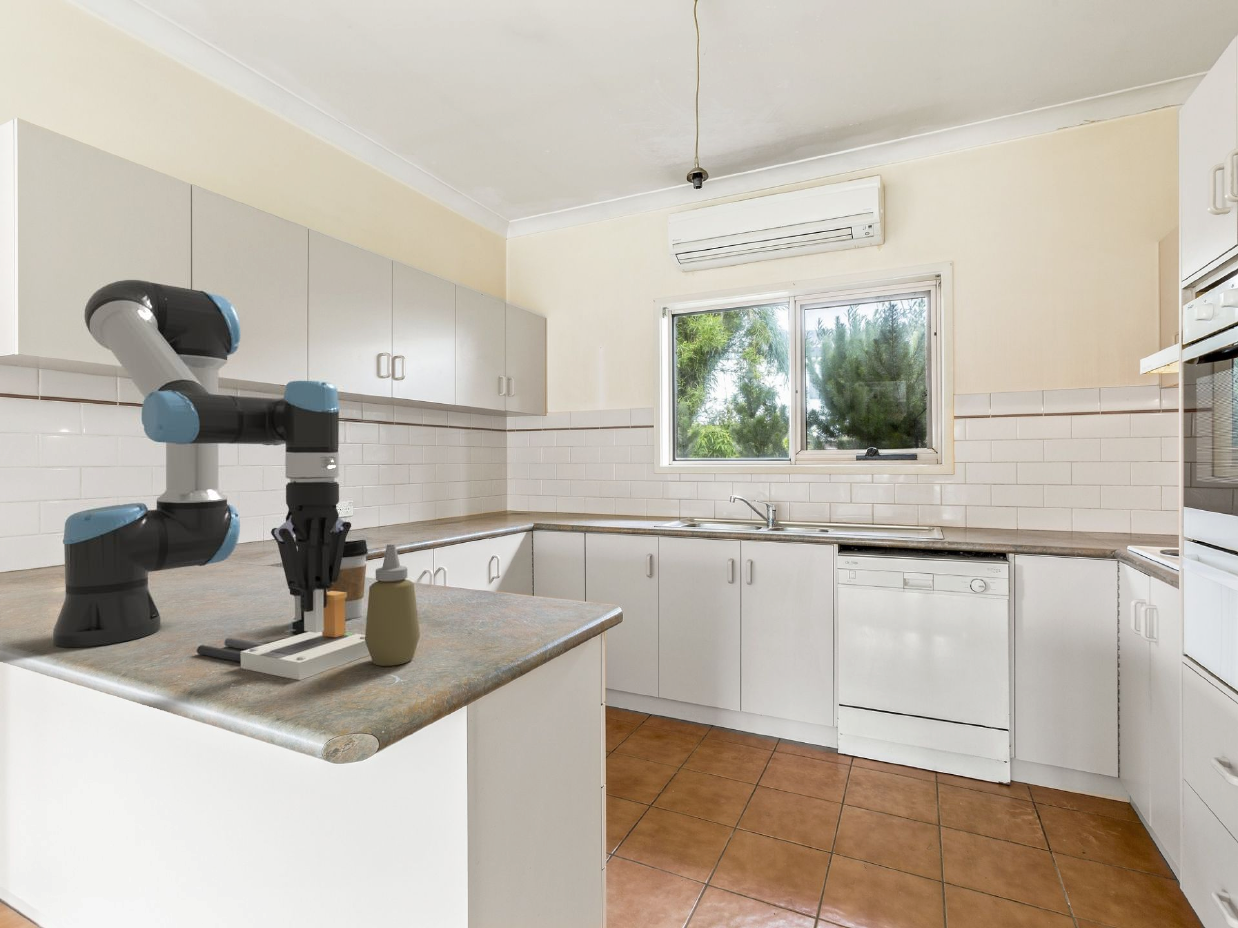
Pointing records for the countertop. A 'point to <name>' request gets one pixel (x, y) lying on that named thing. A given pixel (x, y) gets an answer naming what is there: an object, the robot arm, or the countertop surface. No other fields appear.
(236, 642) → the cord
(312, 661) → the panel
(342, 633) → the lever
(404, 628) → the squeeze bottle
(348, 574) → the coffee cup
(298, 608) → the push button
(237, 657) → the cord
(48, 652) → the countertop surface
